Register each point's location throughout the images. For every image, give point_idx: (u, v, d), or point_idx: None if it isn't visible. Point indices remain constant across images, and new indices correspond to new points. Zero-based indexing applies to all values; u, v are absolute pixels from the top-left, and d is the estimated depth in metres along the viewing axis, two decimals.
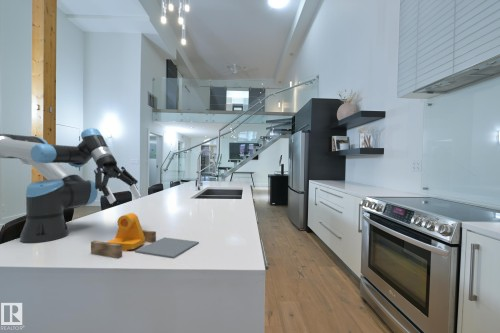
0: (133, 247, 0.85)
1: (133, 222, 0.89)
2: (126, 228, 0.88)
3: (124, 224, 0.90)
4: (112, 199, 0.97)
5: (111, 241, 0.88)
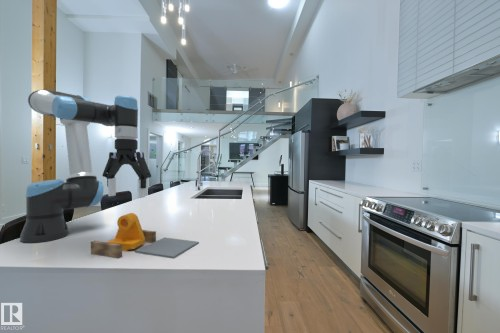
0: (133, 247, 0.85)
1: (133, 222, 0.89)
2: (126, 228, 0.88)
3: (124, 224, 0.90)
4: None
5: (111, 241, 0.88)
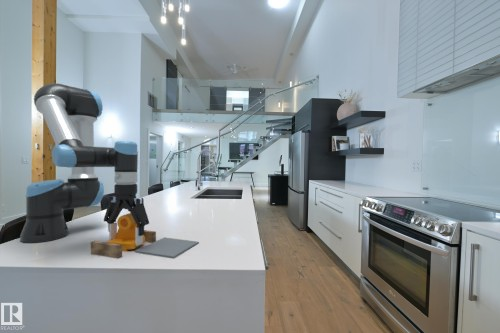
0: (133, 247, 0.85)
1: (133, 222, 0.89)
2: (126, 228, 0.88)
3: (124, 224, 0.90)
4: None
5: (111, 241, 0.88)
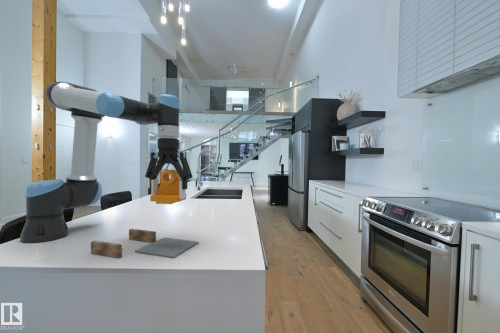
0: (177, 200, 0.85)
1: (175, 177, 0.89)
2: (169, 182, 0.88)
3: (166, 179, 0.90)
4: None
5: (154, 195, 0.87)
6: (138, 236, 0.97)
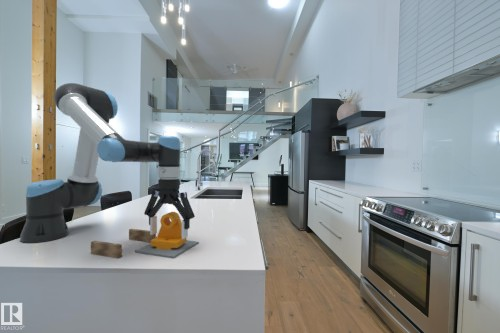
0: (177, 246, 0.85)
1: (176, 221, 0.89)
2: (169, 227, 0.88)
3: (166, 223, 0.90)
4: None
5: (155, 239, 0.88)
6: (138, 236, 0.97)
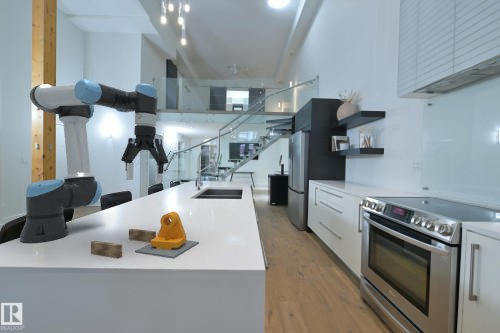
0: (177, 246, 0.85)
1: (176, 221, 0.89)
2: (169, 227, 0.88)
3: (166, 223, 0.90)
4: None
5: (155, 239, 0.88)
6: (138, 236, 0.97)
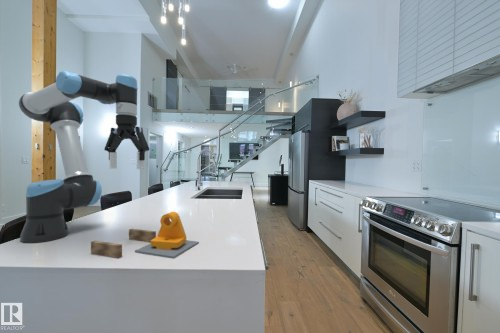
0: (177, 246, 0.85)
1: (176, 221, 0.89)
2: (169, 227, 0.88)
3: (166, 223, 0.90)
4: None
5: (155, 239, 0.88)
6: (138, 236, 0.97)
